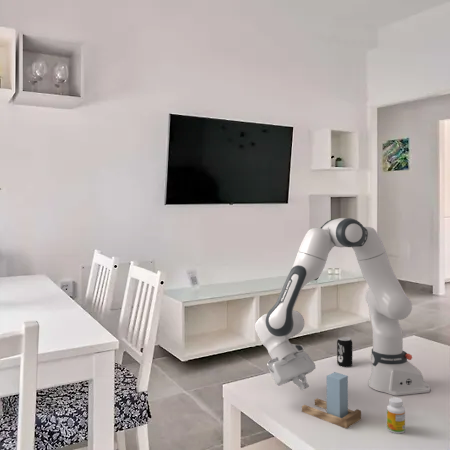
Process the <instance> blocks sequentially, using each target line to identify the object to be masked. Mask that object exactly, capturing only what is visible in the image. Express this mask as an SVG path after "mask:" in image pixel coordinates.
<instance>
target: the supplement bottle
mask: <svg viewBox="0 0 450 450" xmlns="http://www.w3.org/2000/svg"><path fill="white" fill-rule="evenodd" d="M403 404H404V403H403V399H402V398H400V397H398V396H397V397H396V396H395V397H394V396H392V397H390V398H389V401H388V405H387V406H386V428H387V429H386V430H388V432H390V433H392V434H397V435H398V434H404V432H405V431H406V408H405V407H404V405H403Z"/></svg>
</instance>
